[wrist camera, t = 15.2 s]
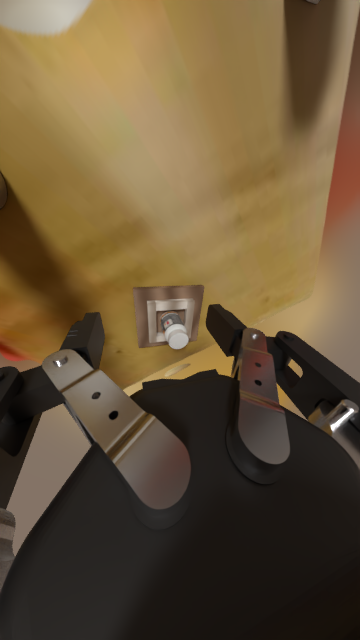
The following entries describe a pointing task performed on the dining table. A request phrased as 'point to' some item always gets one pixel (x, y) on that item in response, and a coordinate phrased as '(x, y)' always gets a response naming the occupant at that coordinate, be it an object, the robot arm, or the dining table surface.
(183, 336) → the pill bottle
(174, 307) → the socket block
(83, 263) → the dining table surface
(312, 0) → the coffee box
